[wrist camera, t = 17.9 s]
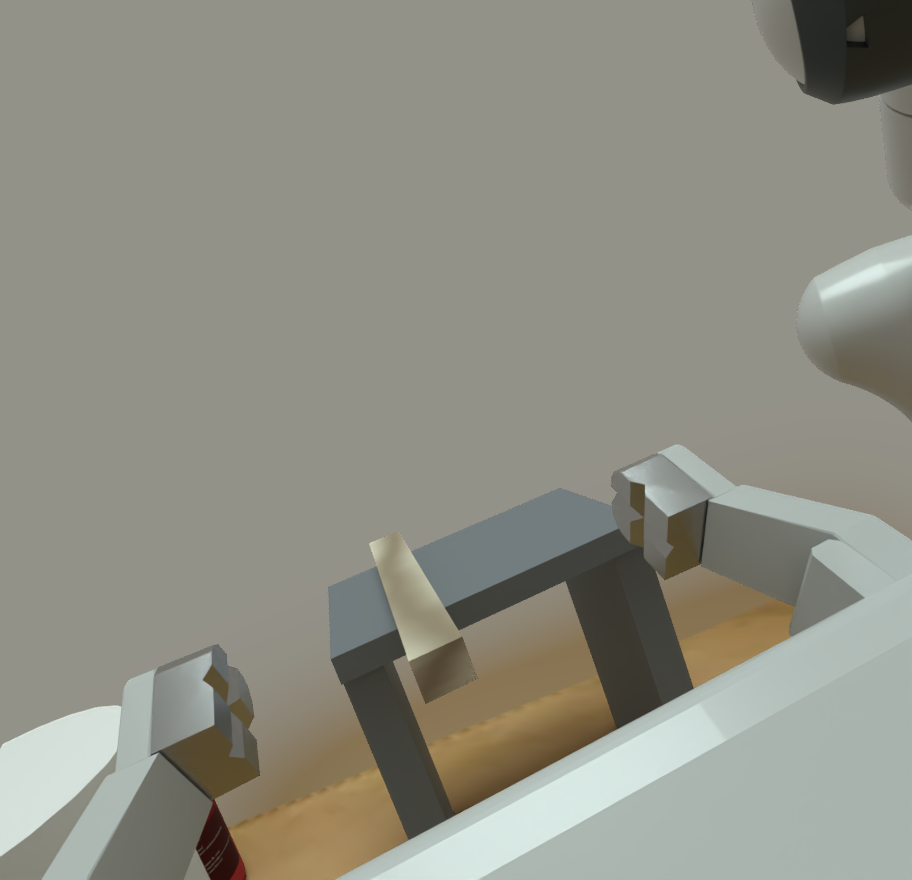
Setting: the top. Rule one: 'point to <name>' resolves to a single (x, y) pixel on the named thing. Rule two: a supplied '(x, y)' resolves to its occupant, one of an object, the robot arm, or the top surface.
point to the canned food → (219, 849)
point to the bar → (422, 621)
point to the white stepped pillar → (55, 789)
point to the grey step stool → (489, 591)
